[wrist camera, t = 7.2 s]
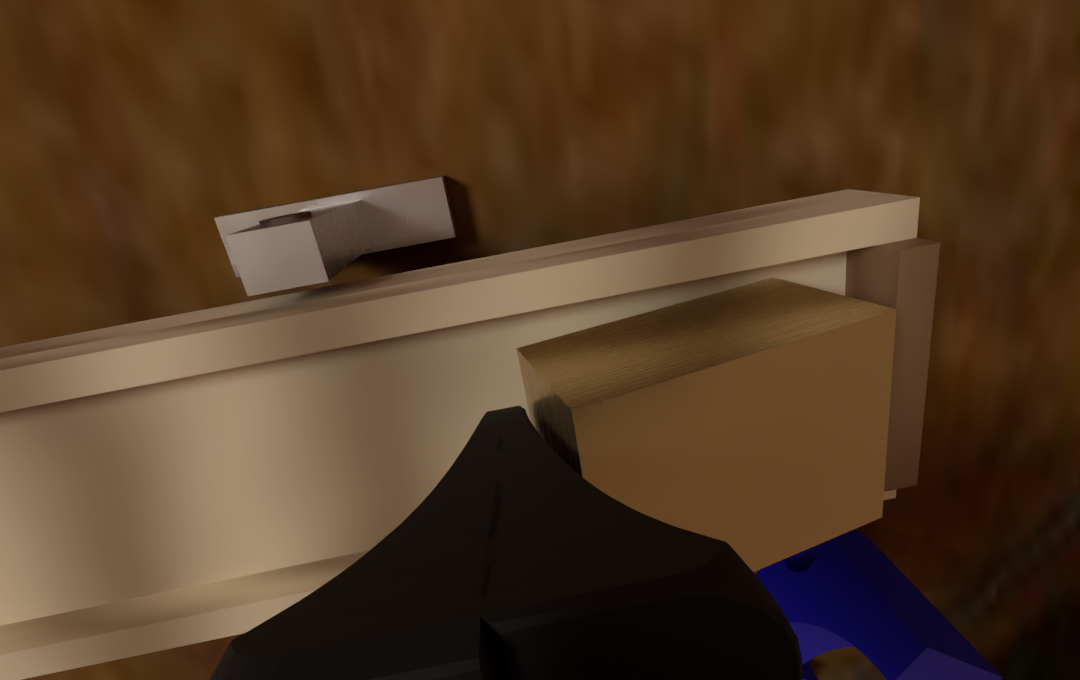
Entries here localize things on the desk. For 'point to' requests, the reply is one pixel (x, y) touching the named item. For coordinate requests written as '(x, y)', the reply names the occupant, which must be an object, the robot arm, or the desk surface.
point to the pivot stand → (332, 232)
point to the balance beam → (351, 415)
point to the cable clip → (868, 613)
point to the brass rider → (728, 413)
